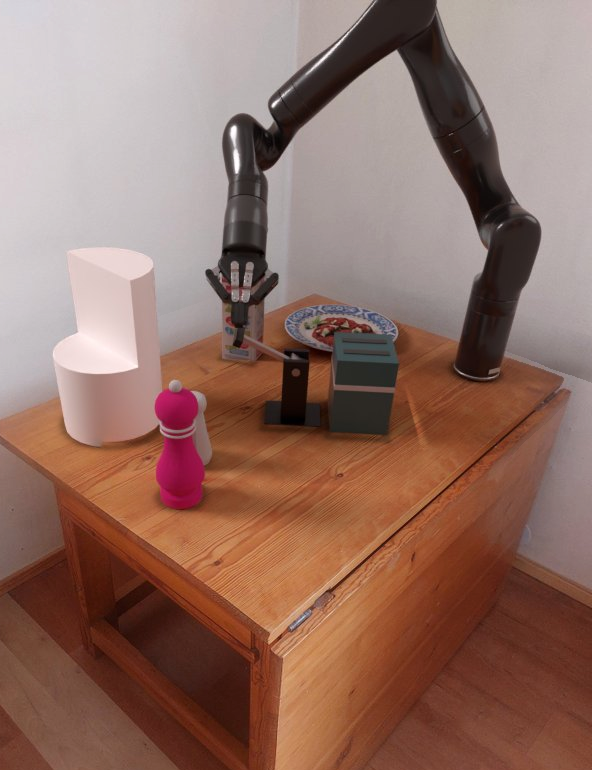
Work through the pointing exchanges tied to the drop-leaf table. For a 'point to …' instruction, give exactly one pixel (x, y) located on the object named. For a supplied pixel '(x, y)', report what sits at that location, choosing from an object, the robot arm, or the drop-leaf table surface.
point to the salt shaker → (201, 431)
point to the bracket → (294, 395)
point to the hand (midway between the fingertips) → (238, 326)
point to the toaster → (362, 383)
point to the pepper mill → (178, 448)
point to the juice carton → (251, 329)
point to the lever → (259, 346)
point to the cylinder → (110, 347)
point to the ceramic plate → (335, 324)
